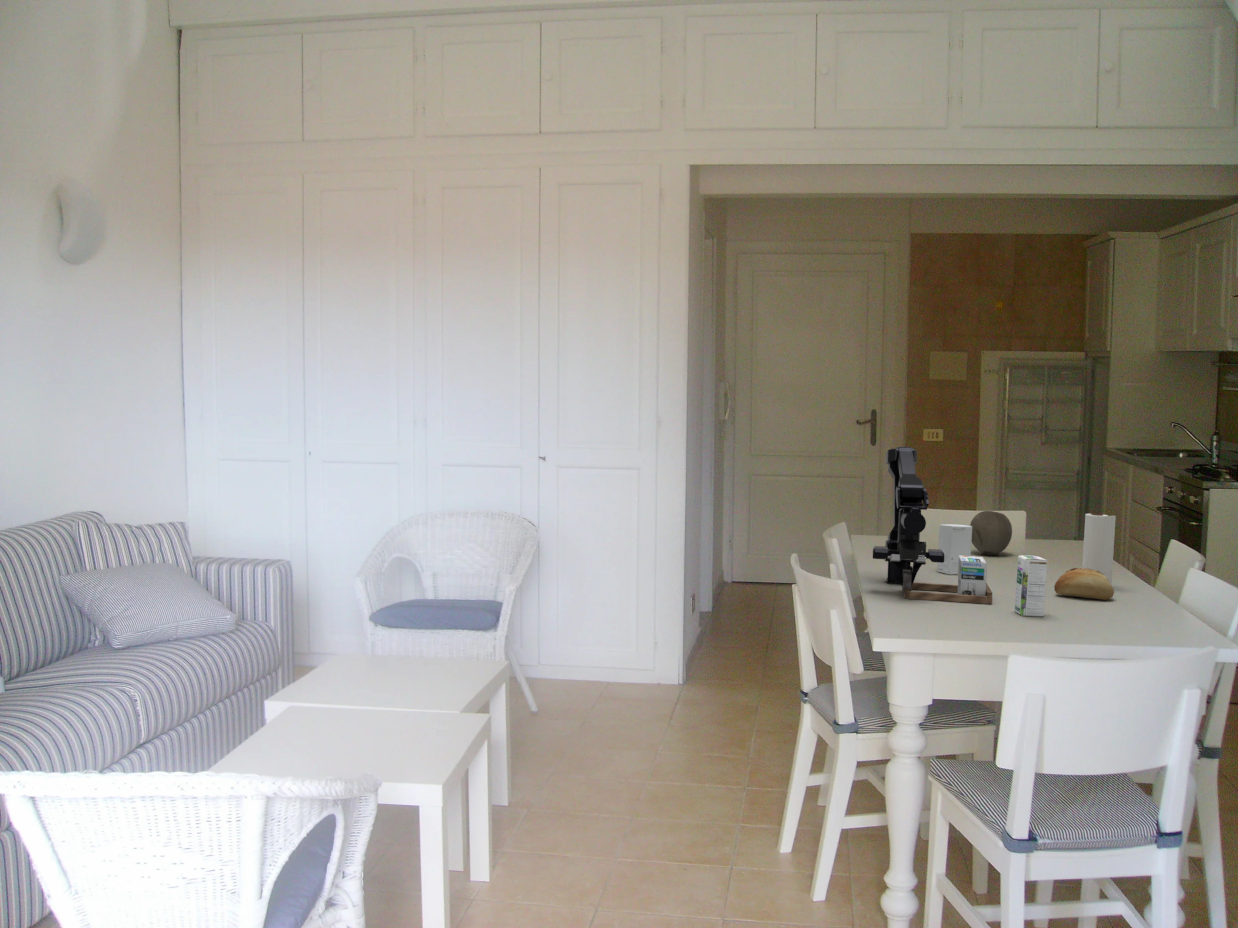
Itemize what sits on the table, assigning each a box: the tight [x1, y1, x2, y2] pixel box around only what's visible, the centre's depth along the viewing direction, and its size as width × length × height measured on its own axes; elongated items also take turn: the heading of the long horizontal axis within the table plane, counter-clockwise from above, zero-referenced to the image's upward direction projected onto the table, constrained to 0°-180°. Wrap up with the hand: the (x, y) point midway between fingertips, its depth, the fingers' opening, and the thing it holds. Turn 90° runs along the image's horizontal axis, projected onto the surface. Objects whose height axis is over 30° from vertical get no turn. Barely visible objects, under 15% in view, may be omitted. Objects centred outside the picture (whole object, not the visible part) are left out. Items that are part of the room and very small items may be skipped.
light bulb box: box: [956, 555, 988, 596], centre depth 287 cm, size 11×7×11 cm, turn 167°
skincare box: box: [936, 523, 972, 576], centre depth 326 cm, size 8×6×15 cm
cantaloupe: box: [969, 510, 1013, 556], centre depth 365 cm, size 14×14×15 cm
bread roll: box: [1053, 567, 1115, 601], centre depth 292 cm, size 10×15×8 cm, turn 72°
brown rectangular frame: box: [901, 570, 993, 605], centre depth 289 cm, size 22×15×6 cm
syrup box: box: [1014, 554, 1048, 617], centre depth 268 cm, size 6×6×14 cm
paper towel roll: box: [1081, 513, 1117, 586], centre depth 306 cm, size 7×6×21 cm
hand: (906, 585), depth 291 cm, fingers closed on brown rectangular frame, 2 cm apart
